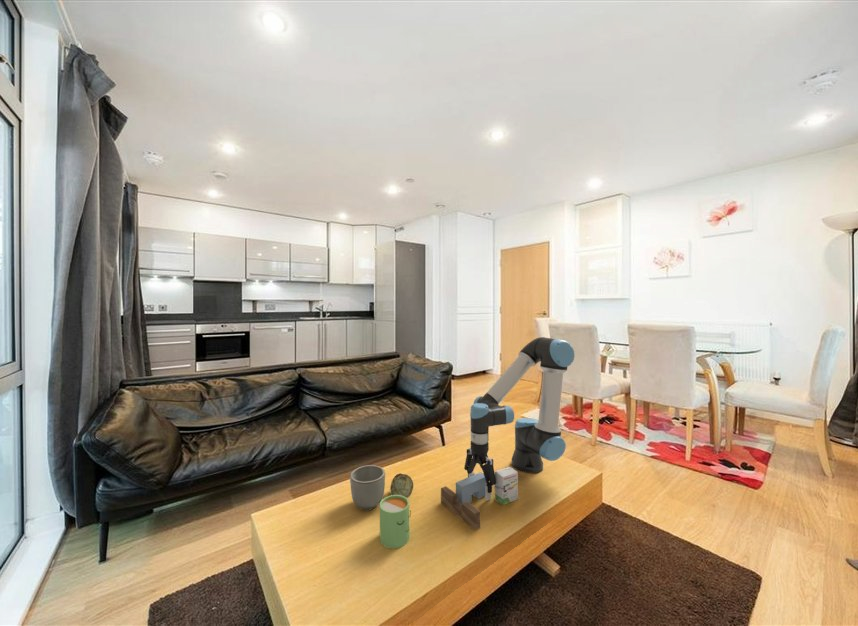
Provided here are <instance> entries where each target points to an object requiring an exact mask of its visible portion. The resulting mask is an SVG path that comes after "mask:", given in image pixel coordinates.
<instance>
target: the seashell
mask: <svg viewBox="0 0 858 626" xmlns="http://www.w3.org/2000/svg"><path fill="white" fill-rule="evenodd" d="M389 490H390V494H391V495H401V496H404V497H406V498H407V499H408V498H410V496H411V495H412V493H413V490H414V482H413V480H412V477H411V476H410V475H408V474H405V473H401V472H400V473H397V474H395V476H394V477H393V478H392V480H391V484H390V489H389Z"/></svg>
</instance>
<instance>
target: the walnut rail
mask: <svg viewBox="0 0 858 626" xmlns="http://www.w3.org/2000/svg"><path fill="white" fill-rule="evenodd" d="M440 504H442V505H443V506H444V507H446V508H447V509H448V510H449V511H451V512H452V513H453V514H454V515H456V516H457V517H458V518H459V519H460V520H462V521H463V522H464V523H466V525H468V526H469V527H470V528H472V529H473V530H474V531H477V530H478V529H480V528H481V511H480V510H479V509H478V508H476V507H475V506H474V505H472V504H471V503H468V502H467V501H466V502H464V503H462V505H461V504H459V503H458V502H457V494H456V491H455V492H454V491H453V490H452V489H450V488H449V487H448V486H447V485H446V486H443V487H440Z"/></svg>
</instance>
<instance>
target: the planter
mask: <svg viewBox="0 0 858 626" xmlns="http://www.w3.org/2000/svg"><path fill="white" fill-rule="evenodd" d="M349 482H350V484H349V485H350V493H351V494H350V495H351V499H352V501H353V504H354V505H355V506H356V507H358V508H359V509H361V510H363V511H371V510H373V509H375V508H376V507H377V506H378V505H380V502H381V501H382V500H383V499H384V494H385V487H386V485H385V484H386V472H385V469H384V468H383V467H382V466H379V465H375V464H367V465H362V466H359V467H357V468H355V469H354V470H352V471H351V473H350V476H349Z"/></svg>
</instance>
